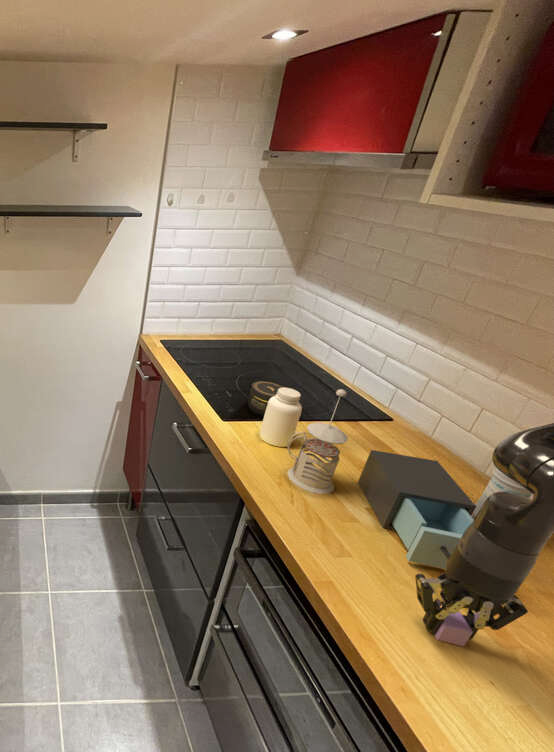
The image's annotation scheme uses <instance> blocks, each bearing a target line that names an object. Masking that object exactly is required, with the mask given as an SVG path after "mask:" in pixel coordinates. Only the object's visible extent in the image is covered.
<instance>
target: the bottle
mask: <svg viewBox="0 0 554 752" xmlns="http://www.w3.org/2000/svg"><path fill="white" fill-rule="evenodd" d="M492 474H493V475H492V477H491V478H490V480H489V481H488V483H487V485H486V487H485V488H484V490H483V492H482V494H481V495H480V497H479V498H478V500H477V501H476V502H475V503H474V504H475V505H476V508H475V510H474V512H473V513H472V515H471V517H472V518H473V519H475V517H476V516H477V514H478V512H479V511H480V509H481V507H482V506H483V504H484V502H485V501H486V499H487V498H488V497H489V496H490V495H491V494H493V493H496V492H510V493H515V494H518V495H521V496H524V497H527V498H529V499H530V498H531V496H532V495H533V494H532V493H531V492H529V491H528V490H526V489H525V488H524V487H522V486H521V485H519V484H518V483H516V482H515V481H513V480H512V479H510V478H509V477H507V476H506V475H504V474H503V473H502V472H500V471H499V470H498V469H497V468H496V467H495V466H494V469H492Z"/></svg>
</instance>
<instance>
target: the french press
mask: <svg viewBox="0 0 554 752" xmlns="http://www.w3.org/2000/svg"><path fill="white" fill-rule="evenodd" d="M335 394H336V396H339V397H338V399H337V402H336V405H335V406H334V411H333V413H332V415H331V419H330V422H329V423H326V422H325V423H324V422H314V423H309V424H308V425H307V426H306V430H307V432H308V434H309V435H310V436H312V437H313V438H308V436H307V432H306V431H298V432H295V433H294V435H292V436H291V437H290V439H289V441H288V444H287V446H286V448H287V451H288V455H289V456H290V457H291V459H293V461H294V464H293V467H290V468H289V469H288V470H287V474H286V475H287V477H288V479H289V480H290V482H292V484H294V485H295V486H297V487H299V488H300V489H302V490H304V491H306V492H309V493H312V494H318V495H327V494H328V495H329V494H332V492H333V491H334V490H335V489H334V488H335V486H334V484H333V482H332V480H333V477H334V475H335V473H336V469H337V467H338V464H339V462H340V455H341V451H340V449H339V447H337V446H336V445H343V444H345V443H346V442H348V440H349V436H348V435H347V434H346V433H345V431H343V430H341V429H340V428H338V427H337V426H334V425H332V422H333V420H334V419H333V418H334V416H335V413H336V410H337V407H338V405H339V402H340V399H341V397H344V398H345V397H346V396H347V391H346V390H345V389H342V388H341V389H337V390H336V391H335ZM301 433H304V434H303V435H298V434H301ZM297 435H298V436H297ZM295 436H296V437H295ZM292 437H293V439H292V441H291V443H290V444H289V442H290V440H291V438H292ZM302 437H303V440H304V442H303V444H301V445H300V449H299V453H298V455H295V454H294V453H292V452H291V448H290V447H291V445H292V444H293V442H294V441H295V440H297V439H298V438H299V439H300V438H302ZM309 451H310V452H309ZM328 458H329V459H328ZM330 459H331V460H330ZM325 461H326V462H325ZM316 465H317V466H316Z"/></svg>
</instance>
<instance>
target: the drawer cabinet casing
mask: <svg viewBox="0 0 554 752" xmlns="http://www.w3.org/2000/svg"><path fill="white" fill-rule="evenodd" d="M357 486H359V488H360V490H361V493H362V494H363V496H364V497H365V499H366V501H367V503H368V504H369V506H370V508H371V510H372V512H373V513H374V515H375V517H376V518H377V521H378V522H379V524H380V526H381V527H382V528H383V529H386V530H390V531H391V530H392V531H396V529H395V528H394V526H393V524H392V523H391V520H392V518H393V516H394V514H395V512H396V510H397V508H398V506H399V504H400V502H401V500H402V497H403V496H405V497H410V498H415V499H421V500H426V501H431V502H437V503H442V504H447V505H452V506H458V507H463V508H464V509H465V510H466V511H467V512H468V513H469V515H470V516H471V517H472V513H473V512H474V510H475V508H476V505H475V504H476V503H475V502H473V501H472V499H471V498H470V497H469V495H467V494H466V492H465V491H464V490H463V489H462V488H461V486H460V485H459V484H458V483H457V482H456V481H455V479H454V478H453V477H451V474H449V472H448V471H447V470H446V469H445V468H444V467H443V466H442V464H441V463H440V462H439V461H438V460H434V459H428V458H423V457H416V456H411V455H404V454H399V453H392V452H387V451H381V450H375V449H371V450H370V452H369V454H368V456H367V459H366V461H365V463H364V466H363V469H362V471H361V474H360V475H359V478H358V481H357Z"/></svg>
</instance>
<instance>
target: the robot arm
mask: <svg viewBox="0 0 554 752" xmlns="http://www.w3.org/2000/svg"><path fill="white" fill-rule="evenodd" d="M491 457H492V458H491V459H492V463H493V465H494V468H495V467H496V468H497V469H498V470H499V471H500V472H502V473H503V474H504V475H506V476H507V477H509V478H510V479H512V480H513V481H515V482H516V483H518V484H519V485H521V486H522V487H524V488H525V489H526V490H528V491H529V492H531V493H532V494H531V495H533V498H532V499H531V498H530V497H529V498H527V497H524V496H521V495H518V494H515V493H510V492H496V493H493V494H491V495H490V496H489V497H488V498H487V499H486V501H485V502H484V504H483V506H482V507H481V509H480V511H479V512H478V514H477V516H476V517H475V519H474V521H473V522H472V524H471V525H470V526H469V527H468V528H467V529H466V530H465V532H464V533H463V535H462V537H461V539H460V541H459V542H458V544H457V546H456V547H455V549H454V551H453V553H452V554H451V556H450V558H449V560H448V562H447V567H446V569H445V571H444V572H442V573H440V574H439V575H438V576H437V577H426V576H425V574H423V573H417V574H415V575H414V577H415V578H414V579H415V588H416V598H417V600H418V602H419V604H420V606H421V608H422V609H423V611H424V615H423V616H422V623H423V624H424V626H425V628H426V629H427V631H428V633H429V634H433V635H434V634H436V633H437V631H438V630H439V628H440V626H441V625H442V623H443V622H444V619H445V618H446V617H447V616H448V615H450V614H451V613H453V614H456V613H457V612H460V611H461V609H466V610H465V614H462V616H463V617H464V619H465V621H466V622H467V624H468V625H469V627H470V628H471V630H472V631H473V633H472V635H471V636H470V638H469V639H468V641H471V640H472V639H474V637H475V636H476V634H477V633H478V631H479V630H483V629H484V628H487V627H488V628H490V629H491V630H494V631H499V630H500V629H502V628H504V627H505V626H508V625H509V624H510V623H513V622H515V621H516V620H518V619H520V618H521V617H523V616H525V615H526V614H528V613H529V611H528V609H527V608H526V606H525V605H524V603H523V602H522V601H521V600H520V599H519V598H518V596H517V595H516V593H518V590H519V589H520V587H521V586H522V584H523V583H524V581H525V580H526V579H527V577H528V576H529V574H530V573H531V571H532V570H533V569H534V568H535V566H536V563H537V561H538V558H539V555H540V553H541V552H542V550H543V549H544V548H545V546H546V544H547V543H548V542H549V540H550V539H551V537H552V536H553V535H554V422H552V423H548V424H544V425H540V426H535V427H531V428H528V429H525V430H521V431H519V432H516V433H514V434H511V435H509V436H507V437H505V438H504V439H503V440H502V441H500V442H499V443H498V444H497V445H496V446H495V448H494V450H493V452H492V456H491ZM440 607H441V608H440ZM497 615H498V617H497V618H495V616H497Z"/></svg>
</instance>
